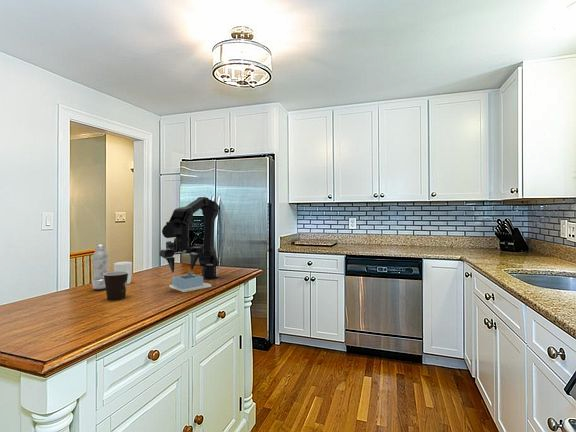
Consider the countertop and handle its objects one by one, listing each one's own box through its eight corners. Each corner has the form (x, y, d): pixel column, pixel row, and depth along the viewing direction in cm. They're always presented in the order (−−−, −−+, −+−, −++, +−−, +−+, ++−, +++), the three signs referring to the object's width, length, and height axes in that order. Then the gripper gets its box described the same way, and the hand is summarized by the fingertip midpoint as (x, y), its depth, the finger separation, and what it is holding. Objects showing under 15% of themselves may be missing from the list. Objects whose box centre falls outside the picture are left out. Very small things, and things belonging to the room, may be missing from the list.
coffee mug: (117, 301, 121) (117, 276, 121) (98, 300, 123) (98, 275, 123) (137, 294, 133) (137, 270, 133) (120, 293, 134) (119, 269, 134)
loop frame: (192, 282, 151) (192, 273, 151) (203, 285, 144) (203, 276, 144) (172, 285, 144) (172, 276, 144) (182, 289, 137) (182, 280, 137)
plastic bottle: (112, 287, 144) (112, 243, 144) (102, 291, 137) (102, 245, 137) (99, 287, 145) (99, 243, 144) (88, 290, 138) (88, 245, 138)
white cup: (126, 285, 148) (126, 264, 148) (110, 285, 149) (110, 264, 148) (135, 281, 156) (135, 261, 156) (119, 281, 156) (119, 261, 156)
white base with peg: (196, 282, 155) (196, 268, 155) (211, 286, 146) (211, 271, 146) (169, 287, 145) (169, 272, 145) (183, 292, 136) (183, 276, 136)
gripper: (191, 234, 155) (192, 266, 155) (154, 236, 141) (154, 271, 141) (204, 235, 147) (204, 268, 147) (165, 238, 133) (165, 274, 134)
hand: (182, 270), depth 142 cm, fingers open, 9 cm apart
